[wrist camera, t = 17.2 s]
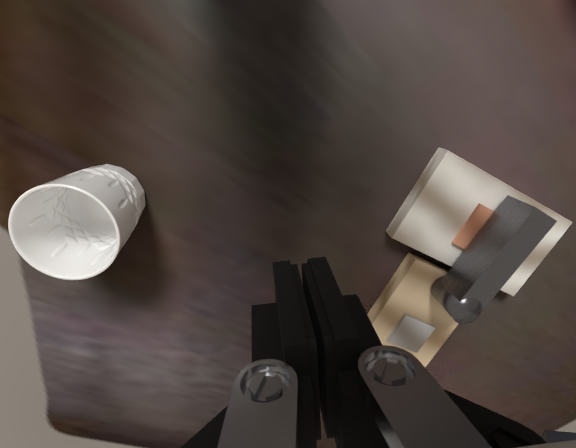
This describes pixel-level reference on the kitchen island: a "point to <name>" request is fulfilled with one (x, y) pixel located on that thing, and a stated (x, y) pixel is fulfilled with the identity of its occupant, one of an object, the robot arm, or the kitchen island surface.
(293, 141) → the kitchen island surface
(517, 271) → the door and jamb
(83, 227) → the white cup
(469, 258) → the bar
